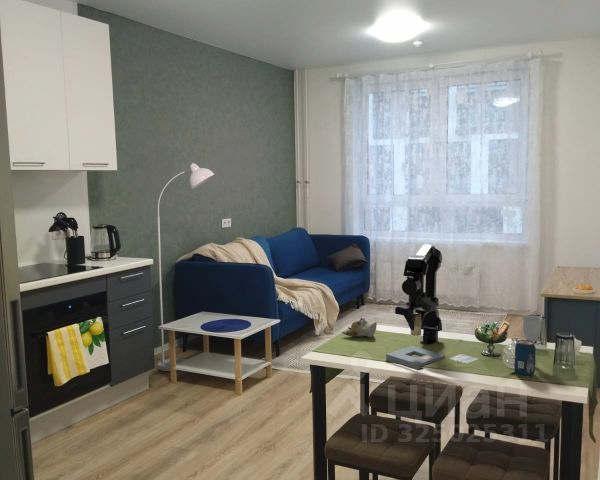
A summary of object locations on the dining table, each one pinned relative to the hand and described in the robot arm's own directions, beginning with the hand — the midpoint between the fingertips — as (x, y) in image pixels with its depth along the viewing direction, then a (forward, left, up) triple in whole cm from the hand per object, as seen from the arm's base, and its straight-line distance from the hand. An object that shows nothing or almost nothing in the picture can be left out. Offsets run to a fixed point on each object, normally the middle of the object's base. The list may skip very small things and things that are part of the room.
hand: (415, 329), depth 220 cm
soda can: (-17, +36, -13) cm, 42 cm away
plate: (-12, +14, -13) cm, 22 cm away
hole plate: (0, 0, -13) cm, 13 cm away
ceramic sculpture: (-9, -38, -13) cm, 41 cm away
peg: (0, 0, -2) cm, 2 cm away
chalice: (-29, +32, -13) cm, 45 cm away
